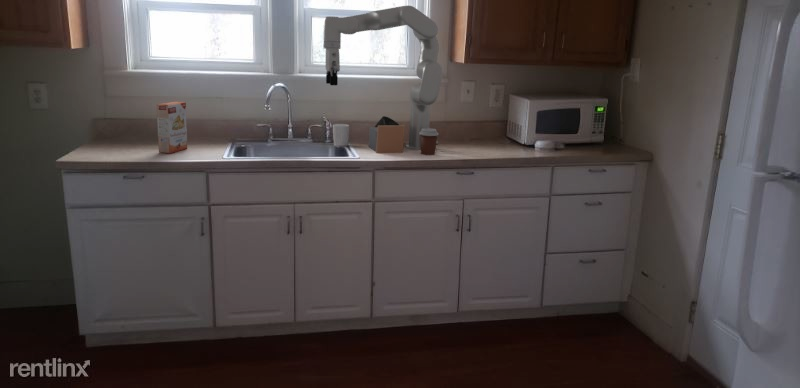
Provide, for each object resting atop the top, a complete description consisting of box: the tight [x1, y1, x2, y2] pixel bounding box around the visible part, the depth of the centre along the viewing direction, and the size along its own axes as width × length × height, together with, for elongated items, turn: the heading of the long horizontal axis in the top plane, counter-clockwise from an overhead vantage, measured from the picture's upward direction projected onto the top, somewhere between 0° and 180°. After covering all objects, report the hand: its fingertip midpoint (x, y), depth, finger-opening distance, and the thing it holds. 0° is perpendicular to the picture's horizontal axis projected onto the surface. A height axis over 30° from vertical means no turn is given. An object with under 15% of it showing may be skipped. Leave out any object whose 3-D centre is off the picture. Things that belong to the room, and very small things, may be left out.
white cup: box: [332, 123, 350, 147], centre depth 291 cm, size 8×8×10 cm
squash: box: [374, 115, 400, 127], centre depth 299 cm, size 14×15×15 cm
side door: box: [375, 124, 406, 154], centre depth 274 cm, size 13×1×13 cm, turn 108°
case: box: [368, 126, 378, 153], centre depth 283 cm, size 12×14×10 cm
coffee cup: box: [419, 127, 440, 156], centre depth 276 cm, size 9×9×12 cm
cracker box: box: [156, 101, 188, 154], centre depth 261 cm, size 14×6×21 cm, turn 168°
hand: (331, 84), depth 271 cm, fingers open, 9 cm apart
